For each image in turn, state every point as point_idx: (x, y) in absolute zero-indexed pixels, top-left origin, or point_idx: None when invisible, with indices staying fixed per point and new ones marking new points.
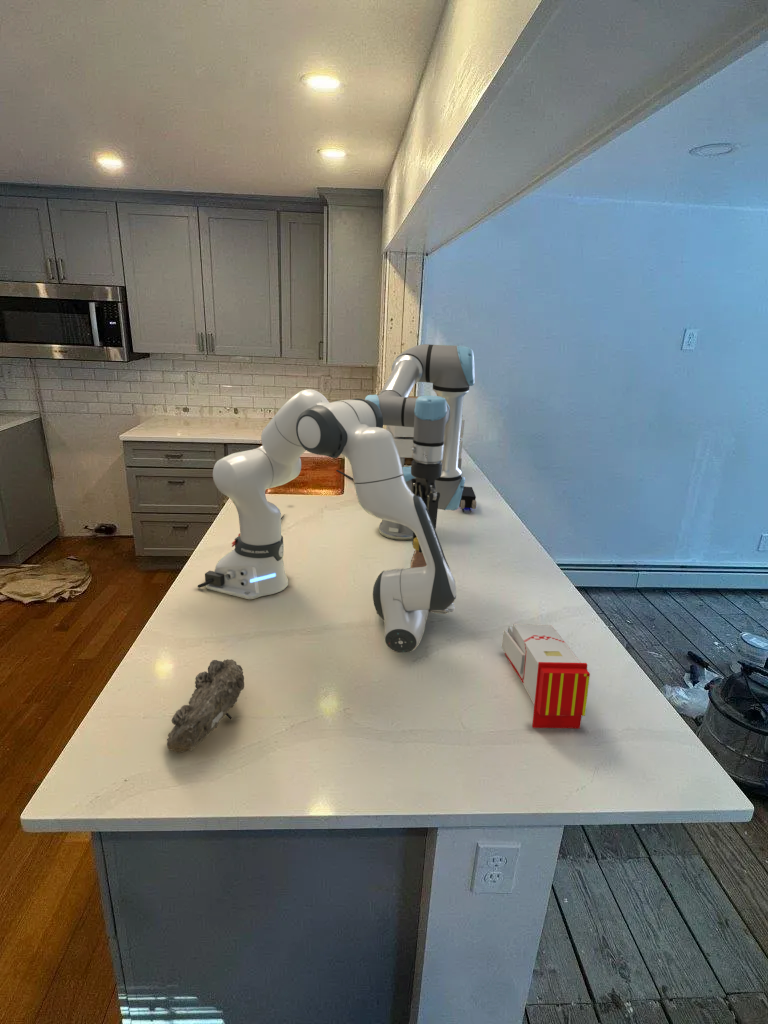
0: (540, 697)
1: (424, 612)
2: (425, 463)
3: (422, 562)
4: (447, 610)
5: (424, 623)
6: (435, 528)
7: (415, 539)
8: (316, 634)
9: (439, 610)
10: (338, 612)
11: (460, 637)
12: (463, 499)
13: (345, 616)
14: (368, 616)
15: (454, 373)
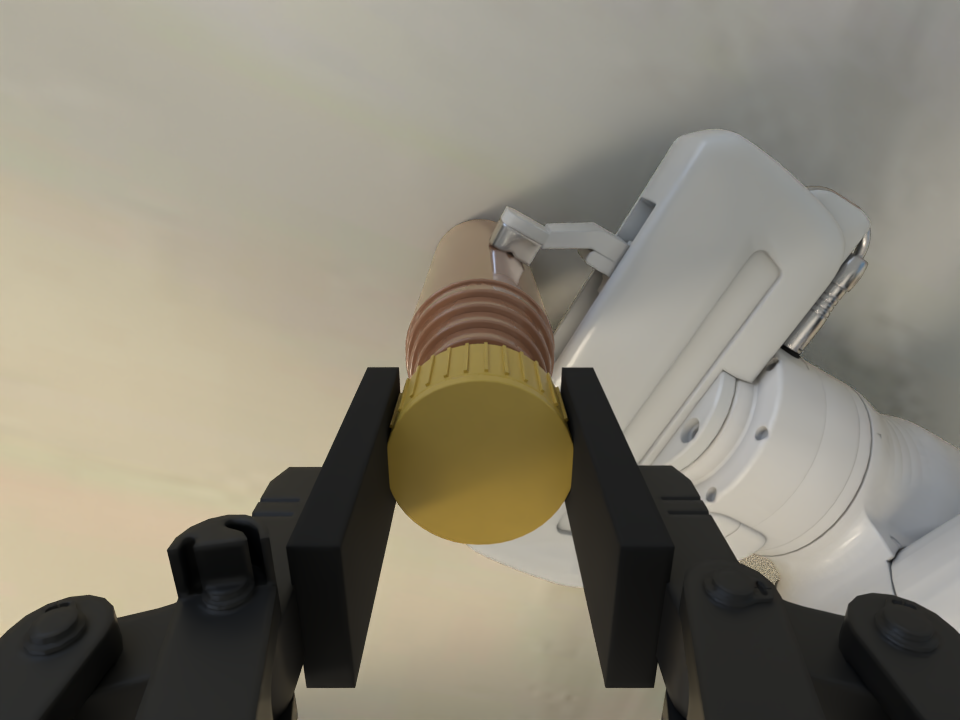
0: None
1: (887, 429)
2: None
3: (549, 372)
4: (866, 262)
5: (954, 451)
6: (924, 609)
7: (458, 525)
8: (595, 682)
9: (835, 304)
10: (465, 596)
11: (849, 170)
12: None
13: (502, 580)
14: None
15: None
